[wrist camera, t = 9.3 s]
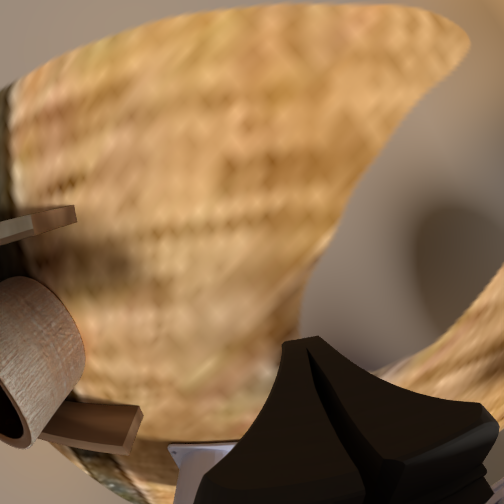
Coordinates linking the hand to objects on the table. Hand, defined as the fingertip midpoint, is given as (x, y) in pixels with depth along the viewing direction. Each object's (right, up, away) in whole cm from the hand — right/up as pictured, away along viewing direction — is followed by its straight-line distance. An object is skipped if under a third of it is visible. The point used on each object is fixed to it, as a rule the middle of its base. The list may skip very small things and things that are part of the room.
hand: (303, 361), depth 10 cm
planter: (-20, -3, +10) cm, 23 cm away
